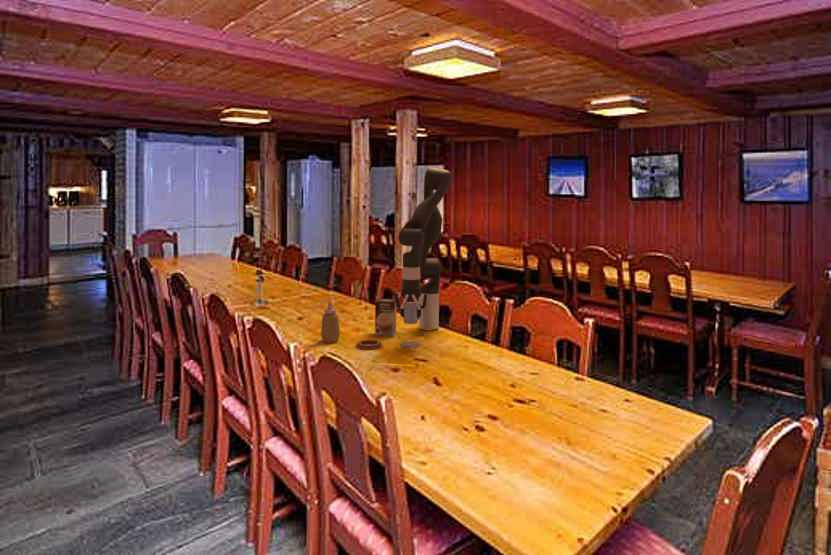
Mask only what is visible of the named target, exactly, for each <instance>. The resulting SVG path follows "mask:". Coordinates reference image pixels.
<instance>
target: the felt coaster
mask: <svg viewBox="0 0 831 555" xmlns="http://www.w3.org/2000/svg"><path fill="white" fill-rule="evenodd" d="M398 345H399V346H400V347H403V348H406V349H407V348H408V349H410V348H413V349H414V348H419V347H421V346H422V344H421V343H420V342H417V341H404V342H403V341H402V342H400V343H399V344H398Z"/></svg>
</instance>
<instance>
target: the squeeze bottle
mask: <svg viewBox="0 0 831 555" xmlns="http://www.w3.org/2000/svg"><path fill="white" fill-rule="evenodd" d="M332 302H333V301H332V300H328V302H327V306H326V308H325V309H324V314H323V315H322V318H321V326H320V327H321V330H320V336H321V338H322V339H321V340H322V342H323V343H324V344H334V343H335V344H336V343H338V341H339V338H340V335H341V330H340V320H339V315H338V314H337V309H336V308H334V307H333V303H332Z"/></svg>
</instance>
